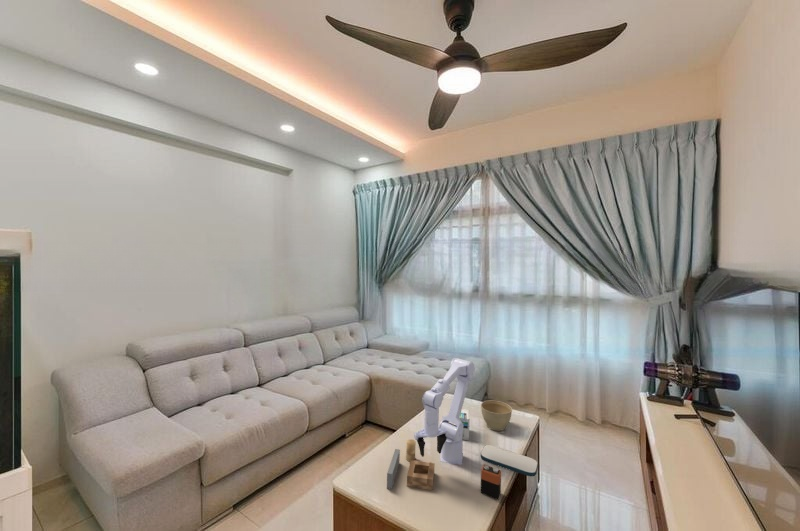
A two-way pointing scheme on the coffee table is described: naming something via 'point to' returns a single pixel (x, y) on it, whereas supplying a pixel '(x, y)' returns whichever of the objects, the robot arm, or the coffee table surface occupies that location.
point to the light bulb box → (465, 423)
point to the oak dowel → (410, 450)
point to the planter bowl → (496, 414)
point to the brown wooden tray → (420, 475)
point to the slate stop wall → (393, 469)
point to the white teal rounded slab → (509, 460)
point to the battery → (491, 481)
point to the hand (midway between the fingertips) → (430, 453)
